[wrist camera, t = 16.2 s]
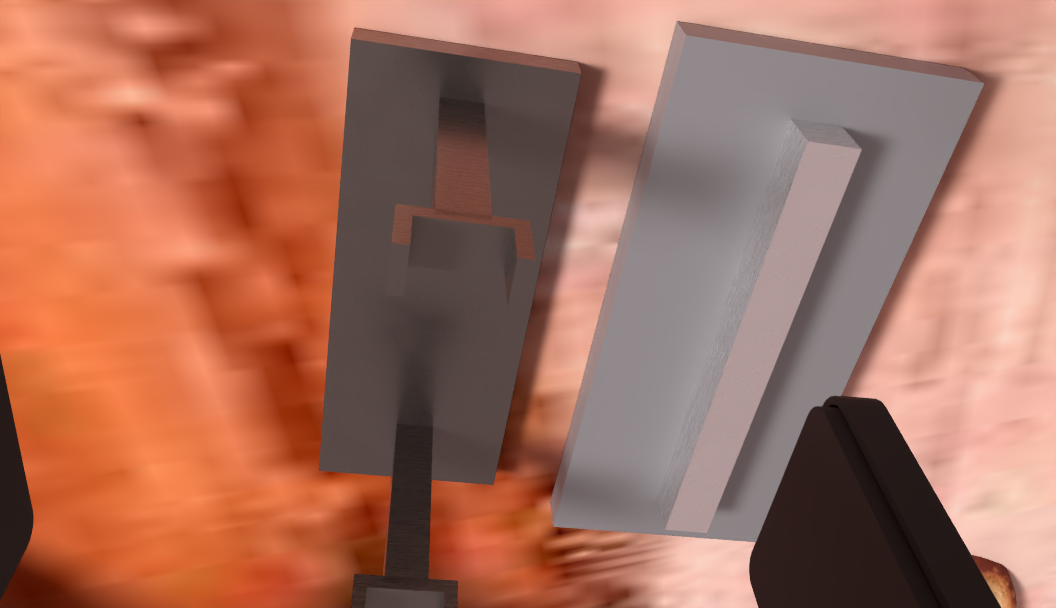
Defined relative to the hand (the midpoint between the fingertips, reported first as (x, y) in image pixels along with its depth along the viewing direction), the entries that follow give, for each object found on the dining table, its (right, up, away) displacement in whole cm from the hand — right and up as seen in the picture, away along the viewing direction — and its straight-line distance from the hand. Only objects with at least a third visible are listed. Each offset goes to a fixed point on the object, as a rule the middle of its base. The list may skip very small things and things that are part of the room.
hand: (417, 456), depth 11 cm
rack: (-4, +3, +37) cm, 37 cm away
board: (+12, +1, +39) cm, 41 cm away
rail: (+12, 0, +38) cm, 40 cm away
